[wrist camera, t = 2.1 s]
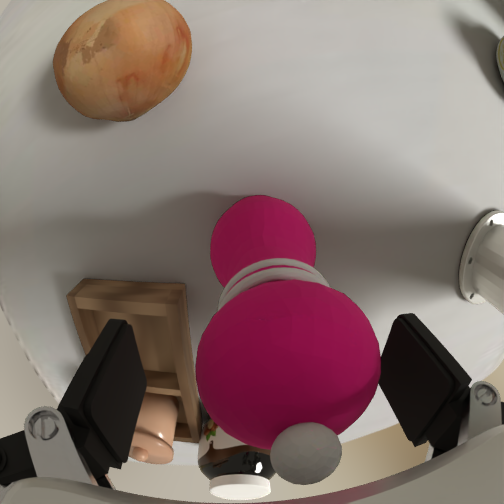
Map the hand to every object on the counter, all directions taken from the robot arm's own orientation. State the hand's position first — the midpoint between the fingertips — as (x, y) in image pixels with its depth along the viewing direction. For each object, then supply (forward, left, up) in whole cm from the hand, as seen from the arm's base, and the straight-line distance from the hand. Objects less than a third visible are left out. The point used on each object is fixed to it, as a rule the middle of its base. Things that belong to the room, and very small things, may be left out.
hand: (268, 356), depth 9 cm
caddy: (+11, +16, -15) cm, 25 cm away
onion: (+9, -14, -16) cm, 23 cm away
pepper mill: (-1, 0, -15) cm, 15 cm away
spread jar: (0, +28, -16) cm, 32 cm away
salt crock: (+11, +21, -14) cm, 28 cm away
